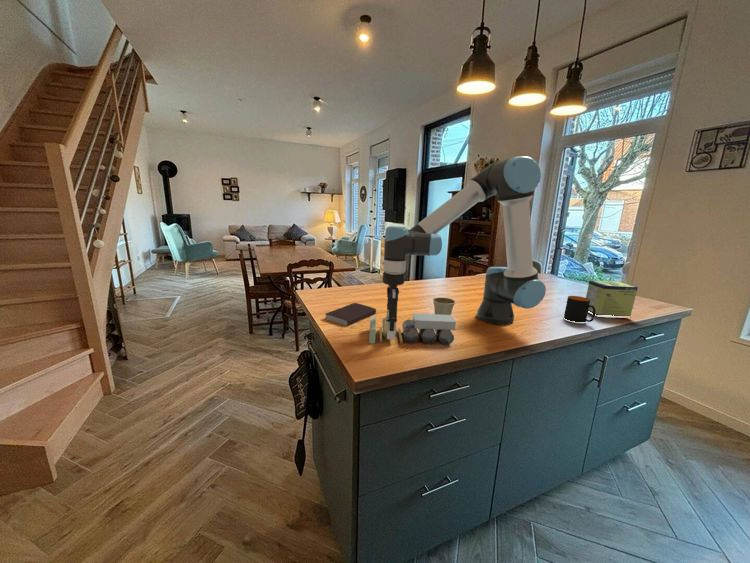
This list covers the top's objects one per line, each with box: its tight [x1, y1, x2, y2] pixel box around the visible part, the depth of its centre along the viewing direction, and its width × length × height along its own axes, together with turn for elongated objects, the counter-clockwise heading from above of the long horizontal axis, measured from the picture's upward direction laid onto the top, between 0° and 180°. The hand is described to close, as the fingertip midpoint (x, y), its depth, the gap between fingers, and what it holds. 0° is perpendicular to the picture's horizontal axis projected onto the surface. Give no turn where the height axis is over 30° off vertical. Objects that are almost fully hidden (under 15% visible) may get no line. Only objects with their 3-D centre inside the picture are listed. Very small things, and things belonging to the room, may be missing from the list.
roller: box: [381, 316, 398, 341], centre depth 108 cm, size 10×5×5 cm, turn 0°
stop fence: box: [368, 316, 377, 344], centre depth 108 cm, size 2×12×5 cm, turn 0°
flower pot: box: [432, 296, 456, 316], centre depth 127 cm, size 9×9×9 cm
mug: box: [563, 295, 596, 323], centre depth 131 cm, size 8×12×10 cm
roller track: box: [378, 319, 455, 346], centre depth 108 cm, size 25×11×5 cm, turn 90°
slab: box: [411, 313, 457, 331], centre depth 107 cm, size 14×7×3 cm, turn 90°
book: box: [324, 302, 377, 327], centre depth 128 cm, size 12×19×3 cm, turn 145°
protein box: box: [585, 280, 639, 317], centre depth 143 cm, size 10×16×16 cm
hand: (390, 332), depth 108 cm, fingers closed on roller, 10 cm apart
